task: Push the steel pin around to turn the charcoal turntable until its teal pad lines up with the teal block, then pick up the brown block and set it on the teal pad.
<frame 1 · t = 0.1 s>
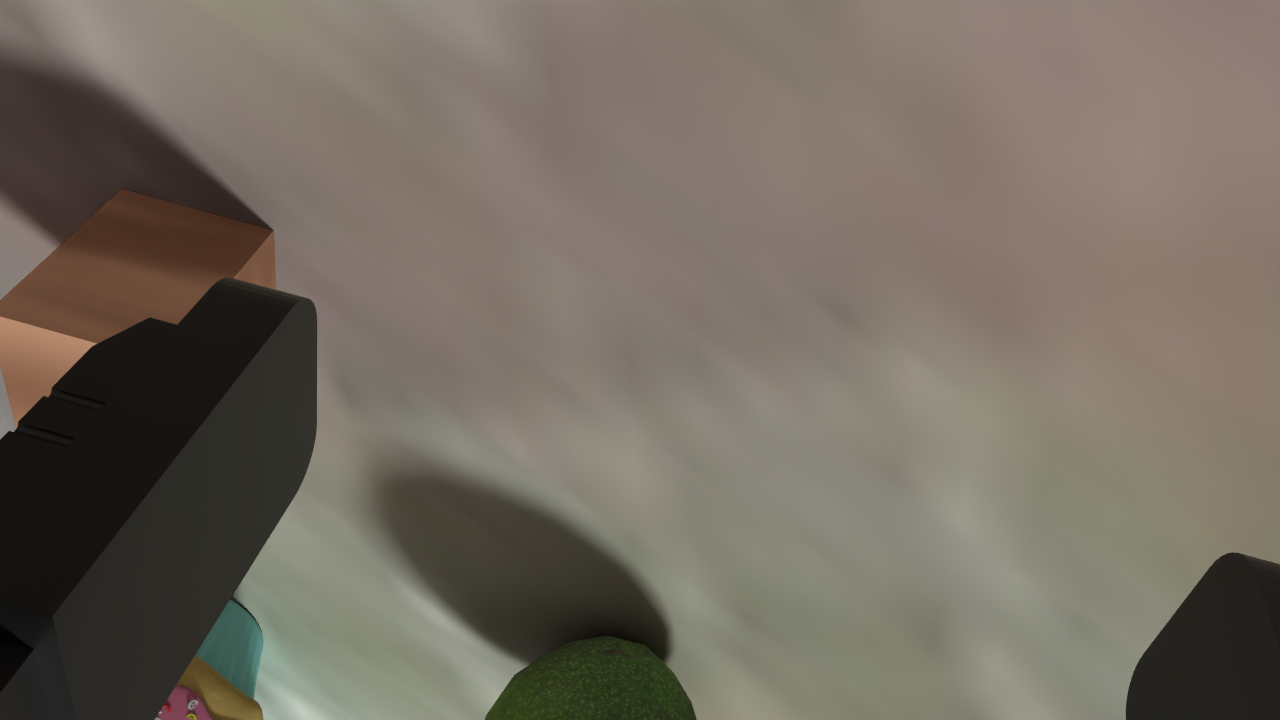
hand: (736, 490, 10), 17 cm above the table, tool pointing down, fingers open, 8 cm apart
avocado: (620, 657, 41), on the table
brown block: (203, 272, 33), on the table
cupcake: (213, 619, 45), on the table
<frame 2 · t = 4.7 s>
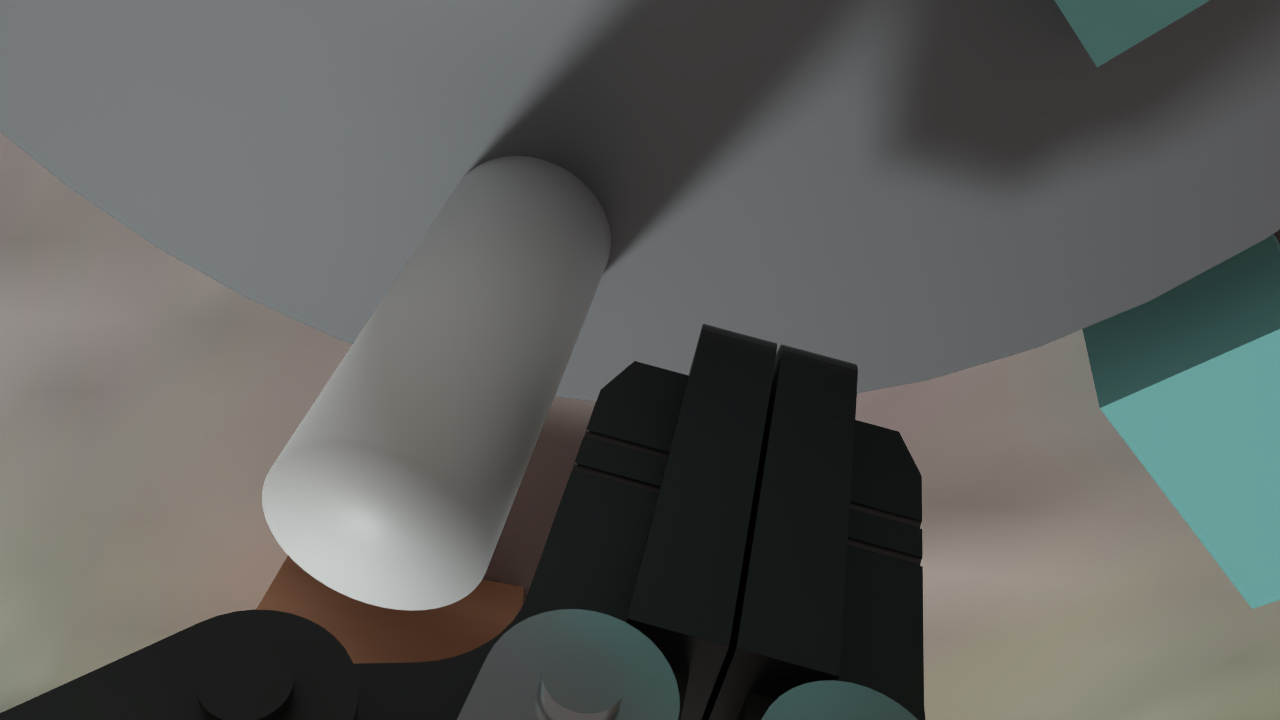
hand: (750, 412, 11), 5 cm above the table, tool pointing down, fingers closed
brown block: (415, 639, 23), on the table
teal block: (1232, 357, 15), on the table
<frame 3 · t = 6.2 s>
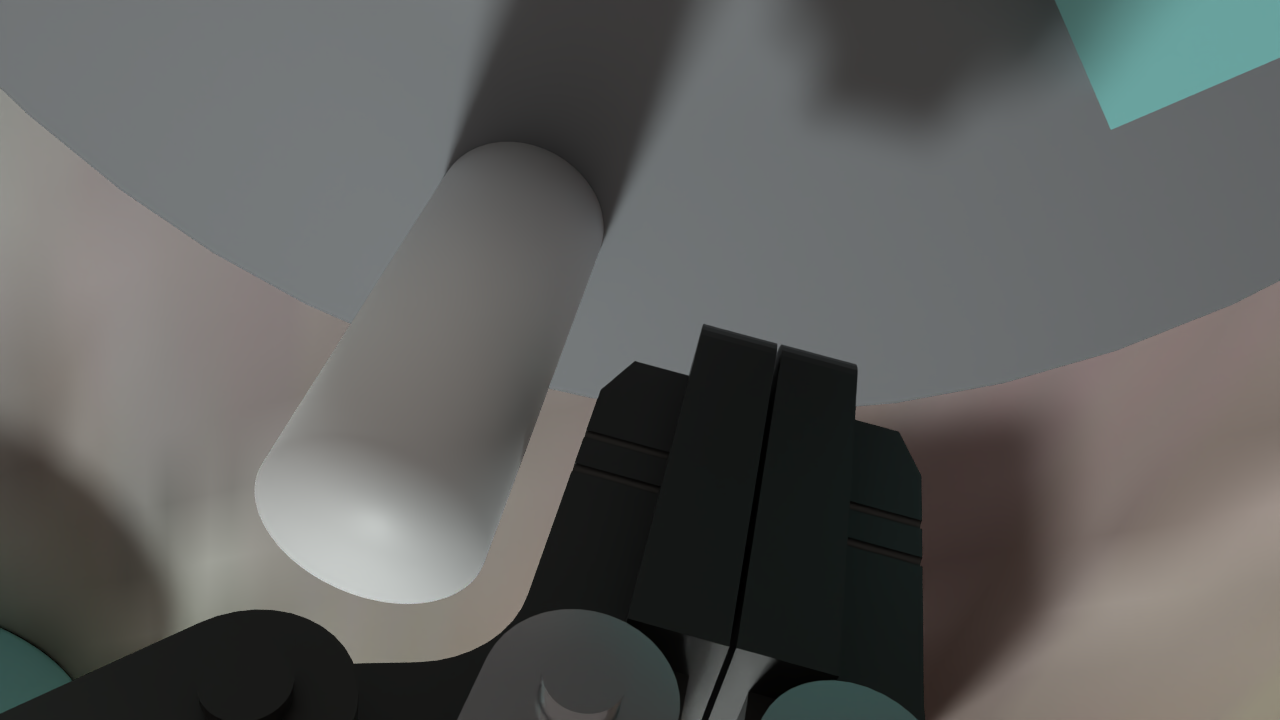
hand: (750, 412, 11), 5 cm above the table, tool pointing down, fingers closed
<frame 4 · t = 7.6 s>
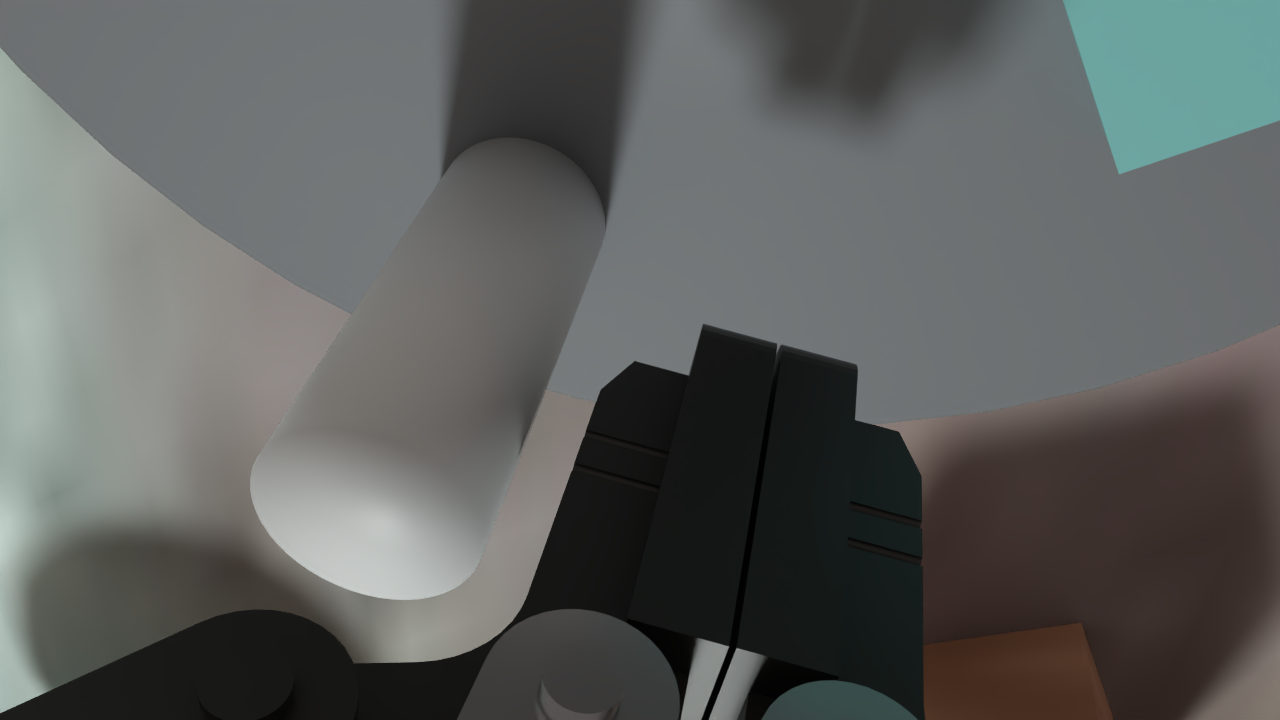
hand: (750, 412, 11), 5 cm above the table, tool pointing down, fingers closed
brown block: (981, 717, 21), on the table
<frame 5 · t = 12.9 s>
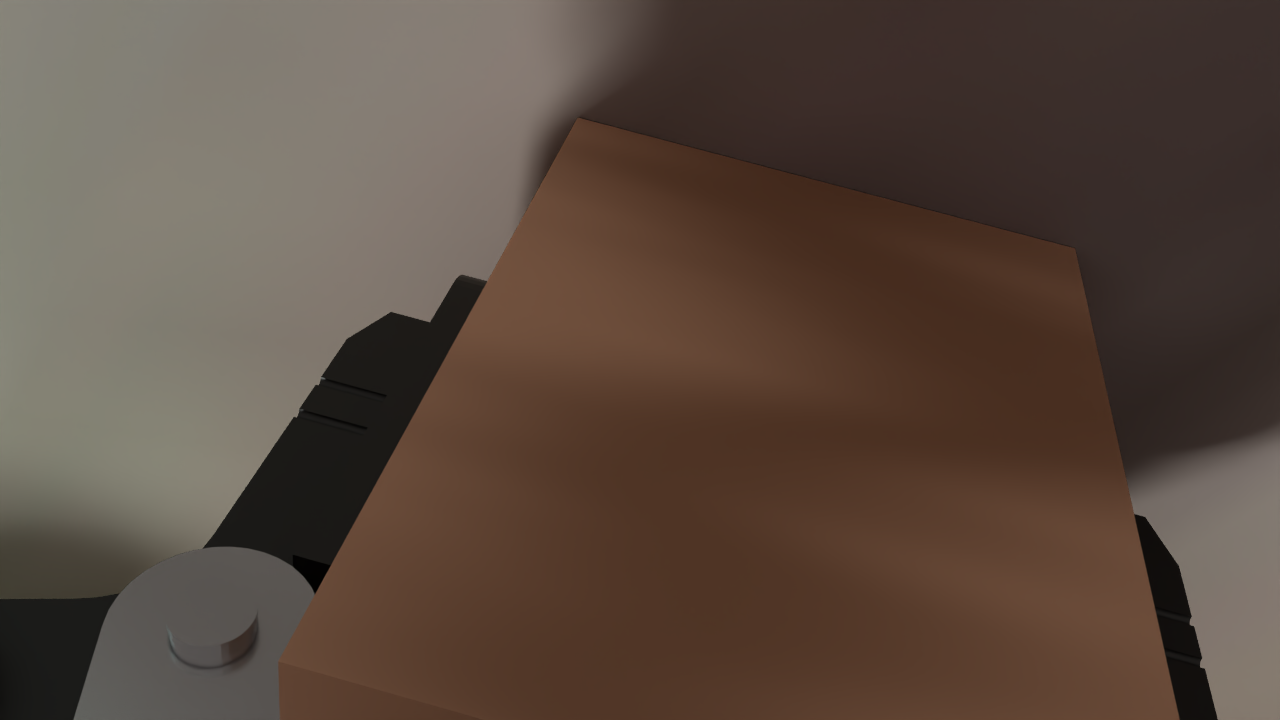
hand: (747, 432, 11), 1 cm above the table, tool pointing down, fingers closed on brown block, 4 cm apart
brown block: (760, 375, 11), on the table, touching gripper
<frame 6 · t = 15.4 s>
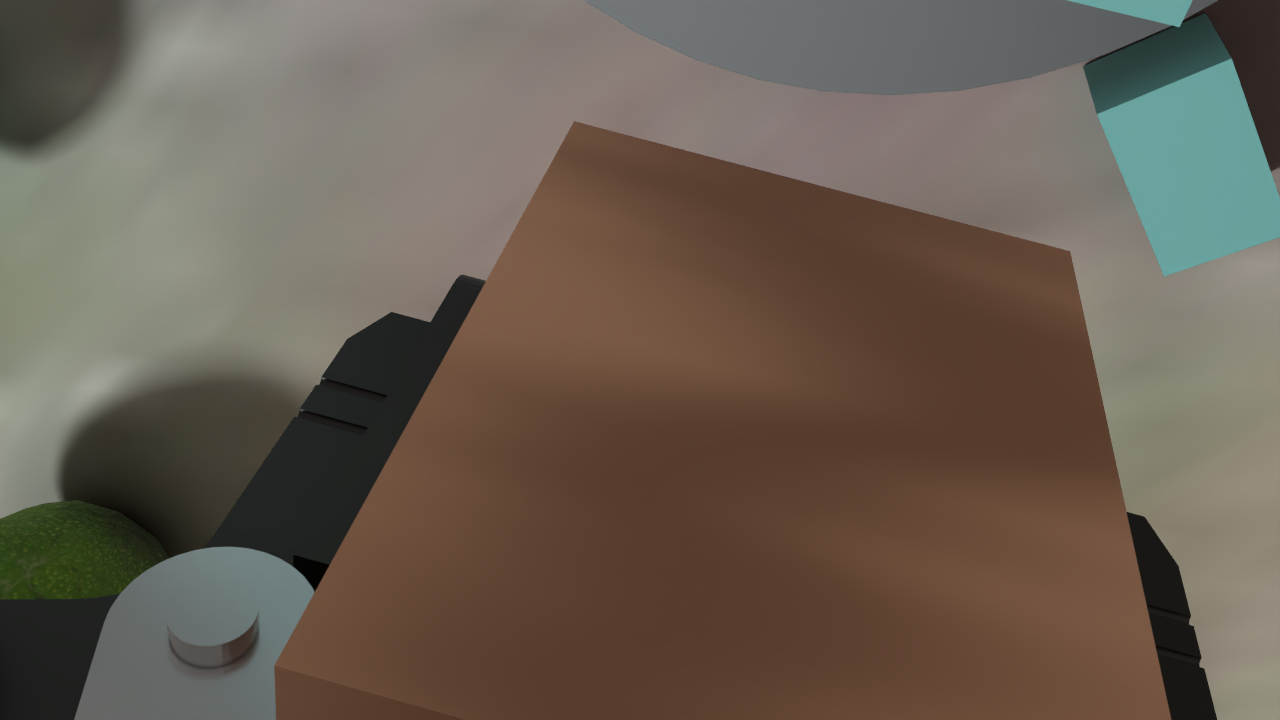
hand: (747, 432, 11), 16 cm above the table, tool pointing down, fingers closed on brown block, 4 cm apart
avocado: (122, 531, 40), on the table
brown block: (757, 378, 11), point 15 cm above the table, touching gripper
teal block: (1174, 122, 24), on the table
when the fingers open (5 cm above the table, at t = 18.1 s): brown block stays where it is, resting on turntable.
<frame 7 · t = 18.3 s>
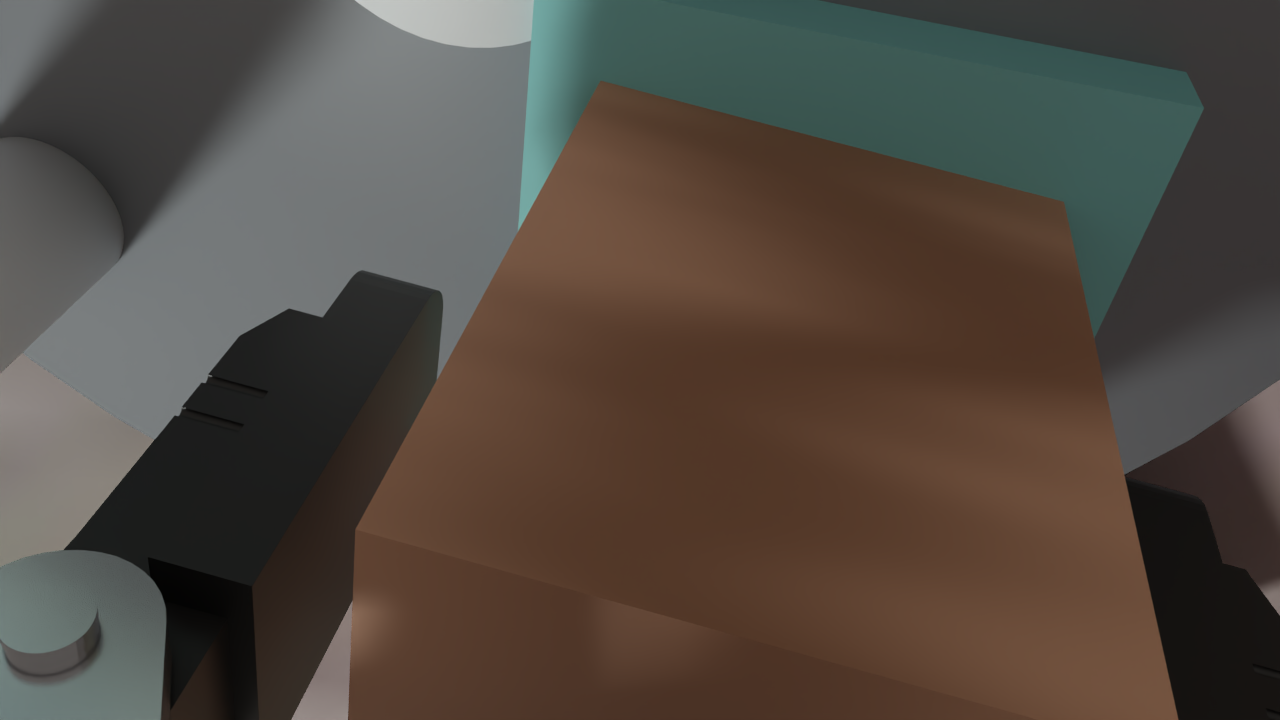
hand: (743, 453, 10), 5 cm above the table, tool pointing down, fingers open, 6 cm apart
brown block: (769, 326, 12), point 3 cm above the table, touching turntable
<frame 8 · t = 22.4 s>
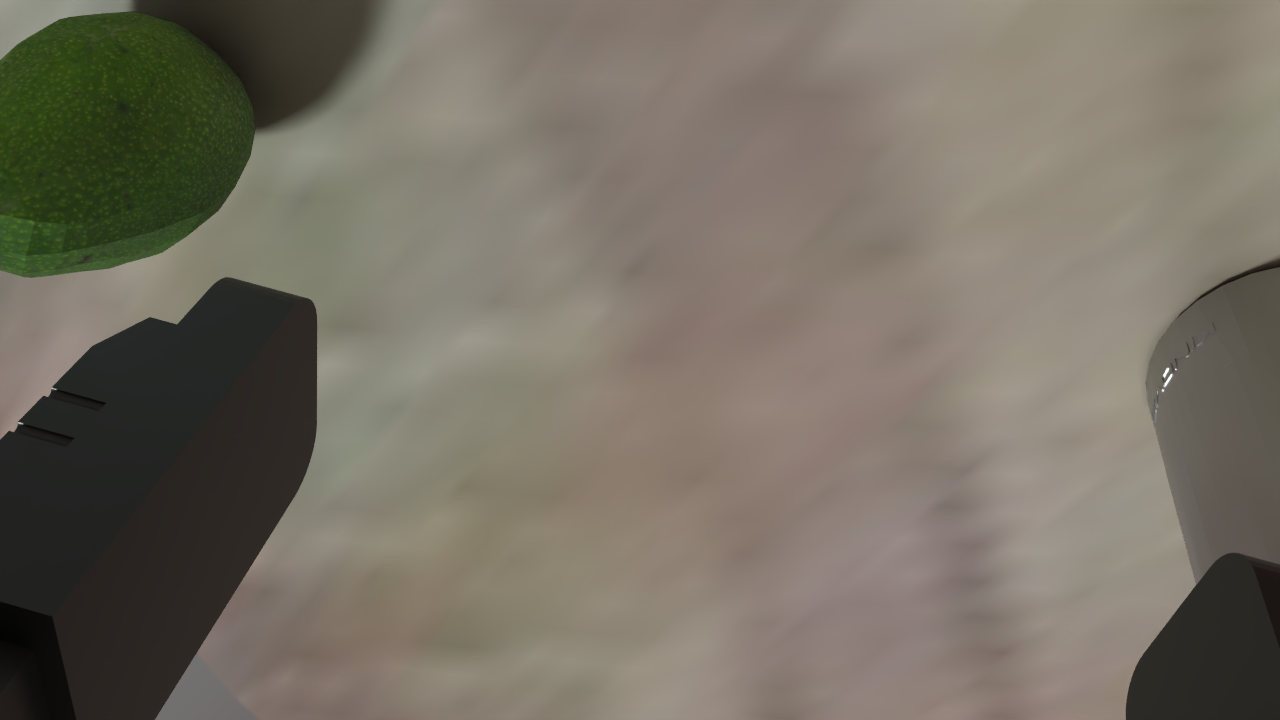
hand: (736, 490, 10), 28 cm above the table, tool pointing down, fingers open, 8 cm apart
avocado: (192, 79, 42), on the table
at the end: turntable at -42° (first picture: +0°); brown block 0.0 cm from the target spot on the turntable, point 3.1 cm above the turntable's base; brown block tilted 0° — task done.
